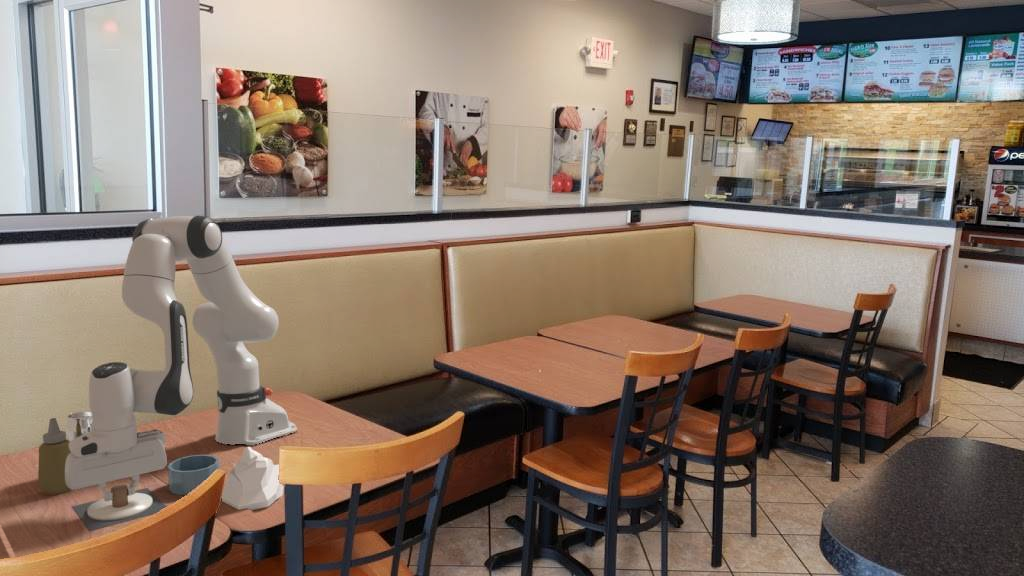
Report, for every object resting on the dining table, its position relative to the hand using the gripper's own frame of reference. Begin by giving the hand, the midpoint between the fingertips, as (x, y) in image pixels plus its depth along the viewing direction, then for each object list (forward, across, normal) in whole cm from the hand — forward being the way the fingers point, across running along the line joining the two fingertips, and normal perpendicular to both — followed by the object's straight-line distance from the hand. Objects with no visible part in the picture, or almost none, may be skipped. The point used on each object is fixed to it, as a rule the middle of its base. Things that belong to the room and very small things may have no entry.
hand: (119, 497), depth 173 cm
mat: (+3, 0, 0) cm, 3 cm away
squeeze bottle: (+4, +8, -21) cm, 23 cm away
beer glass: (+4, 0, -31) cm, 31 cm away
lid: (+2, 0, 0) cm, 2 cm away
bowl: (+3, -17, -2) cm, 17 cm away
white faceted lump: (+4, -25, +14) cm, 29 cm away
